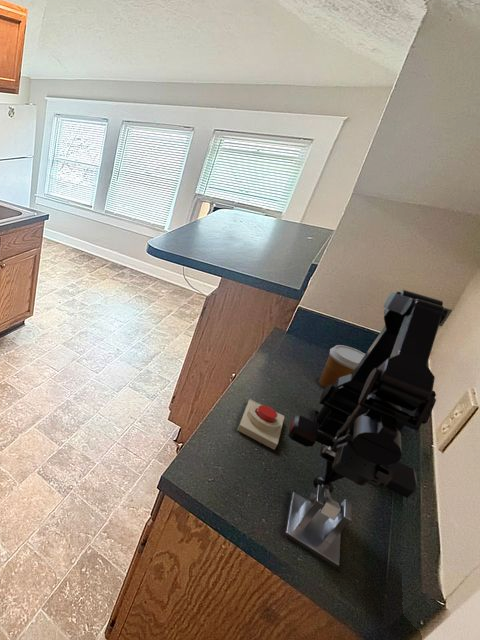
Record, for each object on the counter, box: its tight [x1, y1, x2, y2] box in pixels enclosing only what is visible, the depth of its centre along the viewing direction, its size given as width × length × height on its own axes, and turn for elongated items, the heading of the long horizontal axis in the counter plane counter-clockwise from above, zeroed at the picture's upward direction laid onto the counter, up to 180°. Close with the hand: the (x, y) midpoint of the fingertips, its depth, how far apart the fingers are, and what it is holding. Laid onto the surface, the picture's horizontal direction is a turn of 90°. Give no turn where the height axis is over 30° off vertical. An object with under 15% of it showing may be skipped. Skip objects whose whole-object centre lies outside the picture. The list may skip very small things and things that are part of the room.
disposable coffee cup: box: [318, 344, 366, 389], centre depth 109 cm, size 10×10×12 cm
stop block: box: [237, 398, 285, 451], centre depth 94 cm, size 12×8×4 cm, turn 139°
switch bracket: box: [284, 485, 353, 569], centre depth 71 cm, size 11×8×9 cm
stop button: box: [256, 404, 278, 423], centre depth 93 cm, size 4×4×2 cm
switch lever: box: [312, 475, 341, 520], centre depth 74 cm, size 13×3×3 cm, turn 140°
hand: (327, 480), depth 77 cm, fingers closed, pressing on switch lever
